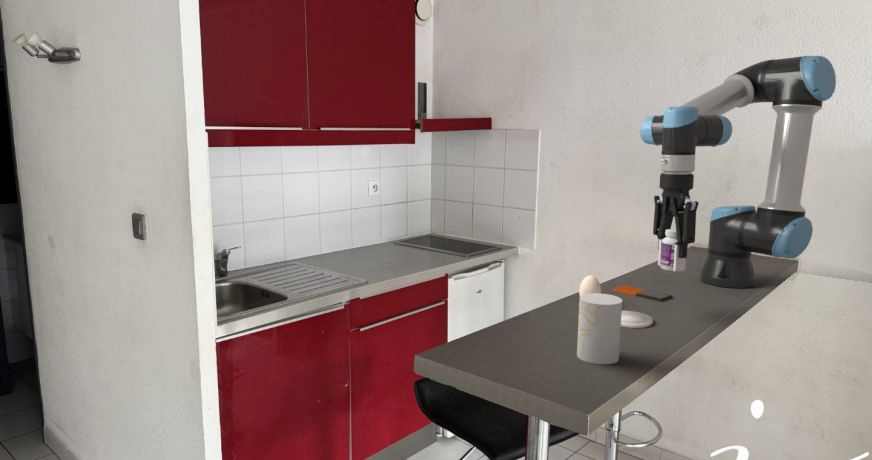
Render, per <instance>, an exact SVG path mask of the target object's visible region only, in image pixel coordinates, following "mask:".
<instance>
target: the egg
mask: <svg viewBox="0 0 872 460" xmlns="http://www.w3.org/2000/svg"><path fill="white" fill-rule="evenodd" d="M590 293H601V294H602V286H601V284H600V281H599V279H598V278H597V277H595V276H594V275H587V276H585V277H584V278H583V279H582V281H581V283H580V285H579V290H578V294H579V297H580V296H581V295H584V294H590Z"/></svg>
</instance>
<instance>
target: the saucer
mask: <svg viewBox="0 0 872 460" xmlns="http://www.w3.org/2000/svg"><path fill="white" fill-rule="evenodd" d="M653 324H654V319H653V317H652V316H650V315H648V314H646V313H642V312H639V311H633V310H622V314H621V327H623V328H627V329H628V328H629V329H644V328H647V327H651V326H652V325H653Z"/></svg>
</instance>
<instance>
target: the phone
mask: <svg viewBox="0 0 872 460" xmlns="http://www.w3.org/2000/svg"><path fill="white" fill-rule="evenodd" d="M612 291H613V292H615V291H617V293H619V292H620V293H621V294H624V295H629V296H632V295H633V297H637V298H642V299H645V300H649V301H654V302H658V303H664V302H666V301H669V300H671V299H673V295H671V294H668V293H667V294H666V293H662V292H657V291H652V290H649V289H644V288H639V287H635V286H630V285H621V286H618V287H615V288H613V289H612ZM620 293H619V294H620Z"/></svg>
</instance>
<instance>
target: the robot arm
mask: <svg viewBox="0 0 872 460" xmlns="http://www.w3.org/2000/svg"><path fill="white" fill-rule="evenodd" d="M836 85H837V77H836V71H835V69H834V66H833V64H832V62H831V61H830V60H829V59H828V58H827V57H825V56H823V55H803V56H795V57H788V58H787V57H786V58H778V59H777V58H776V59H766V60H763V61H760V62H756V63H755V64H752V65H750V66H747V67H745V68H743V69H741V70H739V71H737V72H735V73H733V74H731V75H729V76H728V77H727V78H725V79H724V81H723V83H721V84H720V85H718V86H716V87H714V88H712V89H710V90H708V91H706V92H704V93H702V94H701V95H699V96H696V97H695V98H693V99H691V100H689V101H688V102H685V103H684V104H682V105H680V106H668V107H666V108H665V110H664V111H663V114H662V115H653V116H651V115H650V116H647V117H645V118H644V119H643V120H642V121H641V124H640V127H639V134H640V139H641V141H643V143H644V144H647V145H654V146H656V147H657V146H661V153H660V154H661V157H660V171H661V174H659V186H658V187H659V188H660V189H661V190H662V192H661V195H654V197H653V199H654V200H653V201H654V202H653V203H654V211H653V212H654V214H653V227H652V228H653V229H652V234H653V236H656V237H657V239H658V245H657V246H658V247H657V249H658V258H657V266H660V267H661V249H662V240H663V239H664V238H666V235H665V232H666V230H667V229H672V224H673V220H674V223H675V229H676V233H677V242H676V243H675V251H674V267H673V271H672V272H684V271H686V263H687V262H686V260H687V258H688V246H689V245H690V244H694V243H695V241H696V229H697V228H696V226H697V225H696V224H697V210H698V207H699V201H697V200H695V201H694V200H692V199H691V196H690V191H691V190H693V189H694V182H695V181H694V179H695V175H694V174H693V172H695V168H696V167H695V166H696V148H697V147H717V146H722V145H724V144H726V143H728V142H729V140H730V139H731V138H732V135H733V134H732V133H733V125H732V122H731V121H730V119H729V118H728V117H726V116H725V115H724V114H726V113H728V112H730V111H731V110H734V109H735V108H739V109H740V108H744V107H746V106H748V105H750V104H757V103H772V105H771V108H772V110H774V112H775V113H776V121H775V127H774V134H773V139H772V140H773V141H772V147H771V156H770V162H769V168H768V175H767V182H766V188H765V197H764V200H763V201H762V202H760V203H759V204H757V207H756V206H755V205H732V206H728V205H727V206H726V205H725V206H717V207H714V208H713V209H712V210H711V216H710V220H709V236H708V245H707V248H708V249H707V256H706V258H705V261H704V263H703V265H702V268H701V270H700V271H699V281H701V282H703V283H705V284H707V285H712V286H717V287H721V288H722V287H723V288H732V289H743V288H744V289H745V288H747V289H748V288H752V287H755V285H756V275H755V271H754V268H753V267H754V266H753V263H752V259H751V258H752V253H754V254H761V255H765V256H771V257H774V258H784V259H795V258H797V257H799V256H800V255H802V254H803V253H804V251H806V249H807V247H808V246H809V244H810V242H811V239H812V235H813V228H814V227H813V226H812V225H813V223H812V220H811V219H809V218H807V217H806V209H805V208H804V207H803V206H802V204H801V200H802V193H803V187H804V182H805V175H806V168H807V162H808V154H809V148H810V143H811V136H812V130H813V123H814V117H815V115H816V113H818V112H819V111H821V110H822V107H823V102H826V101H828V100H830V99H831V98H832V97H833V94H834V93H835V91H836ZM756 208H757V209H756ZM682 238H683V239H682Z"/></svg>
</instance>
